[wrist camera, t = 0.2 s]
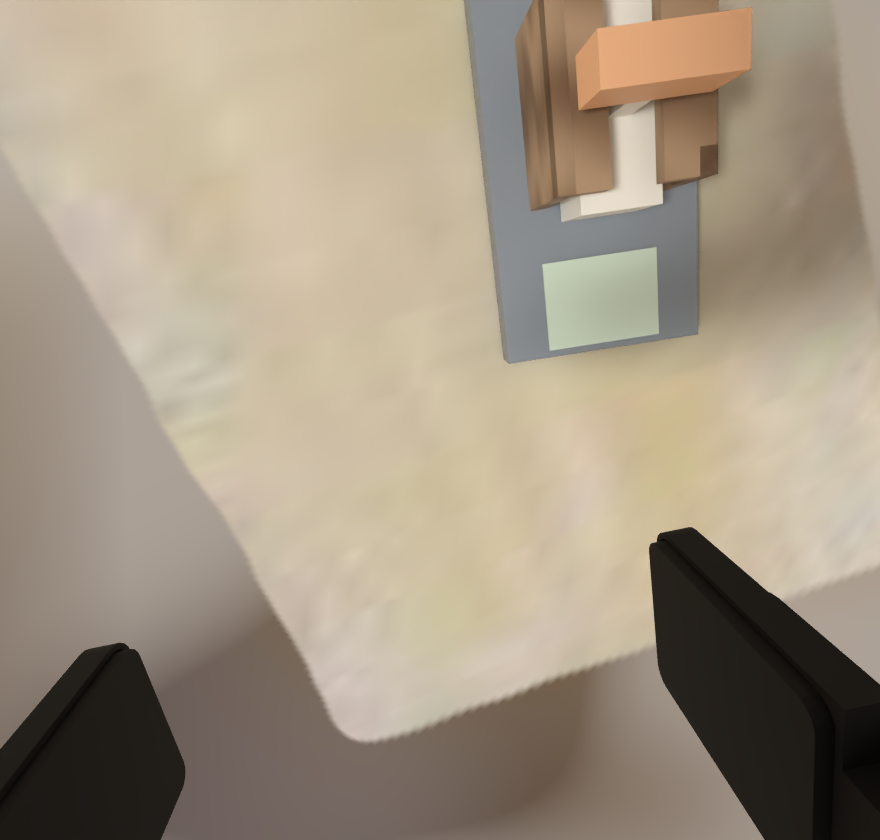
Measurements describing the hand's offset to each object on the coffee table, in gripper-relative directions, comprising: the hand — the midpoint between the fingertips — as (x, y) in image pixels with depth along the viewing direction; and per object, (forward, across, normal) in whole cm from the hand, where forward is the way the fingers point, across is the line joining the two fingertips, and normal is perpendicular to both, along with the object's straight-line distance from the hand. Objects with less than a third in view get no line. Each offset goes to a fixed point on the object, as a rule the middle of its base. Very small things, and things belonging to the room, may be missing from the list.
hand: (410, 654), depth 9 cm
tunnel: (+29, -15, -14) cm, 35 cm away
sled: (+29, -15, -14) cm, 35 cm away
